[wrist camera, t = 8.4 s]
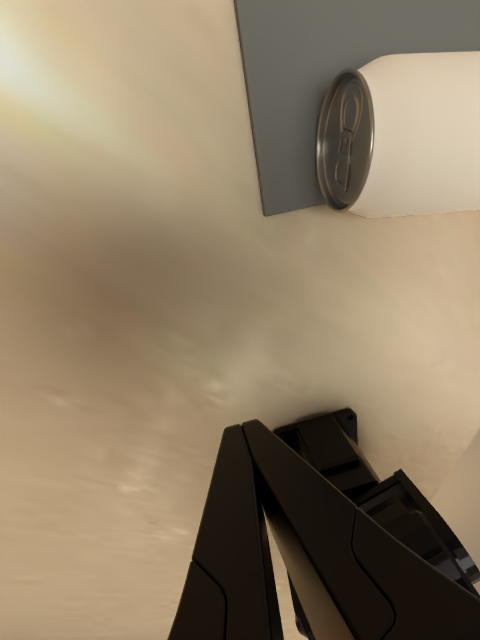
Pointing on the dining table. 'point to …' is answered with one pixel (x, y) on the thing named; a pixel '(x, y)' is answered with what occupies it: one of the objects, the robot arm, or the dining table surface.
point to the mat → (326, 71)
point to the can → (402, 136)
